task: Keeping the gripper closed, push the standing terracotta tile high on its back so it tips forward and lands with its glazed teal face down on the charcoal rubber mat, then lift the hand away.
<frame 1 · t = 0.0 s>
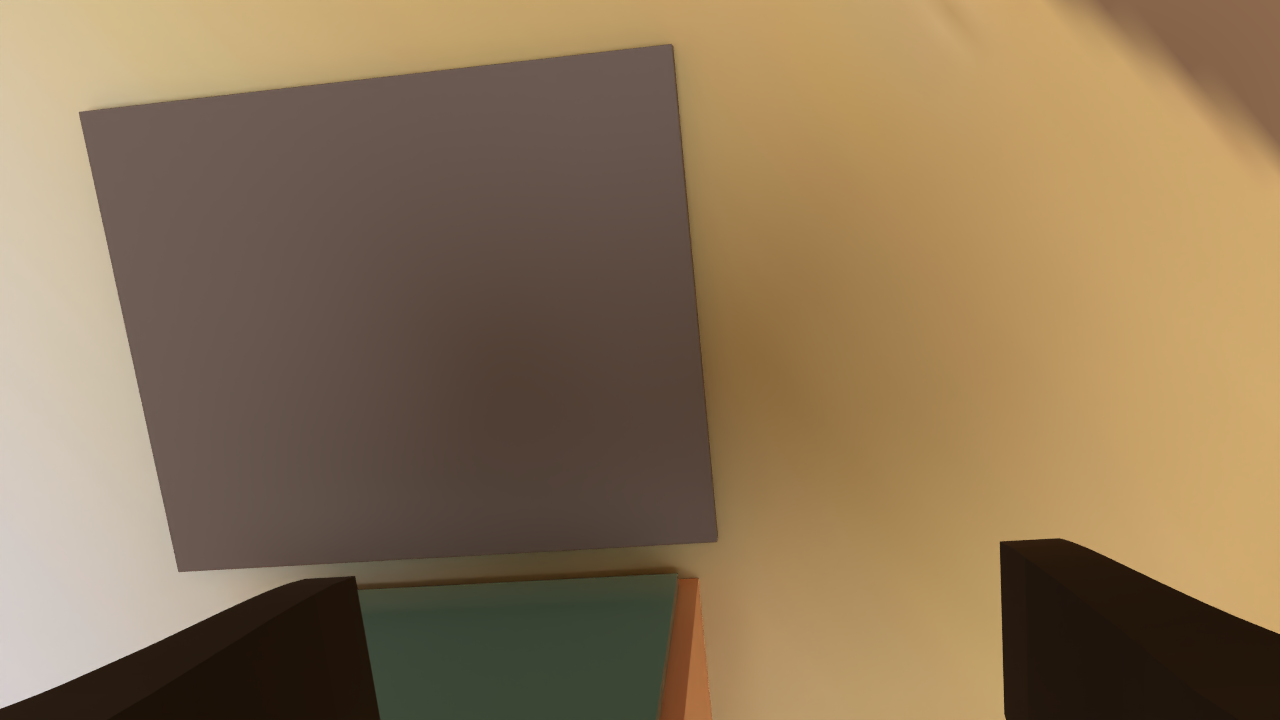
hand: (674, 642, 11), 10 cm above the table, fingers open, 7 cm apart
charcoal mat: (409, 327, 21), on the table
terracotta tile: (507, 669, 23), on the table
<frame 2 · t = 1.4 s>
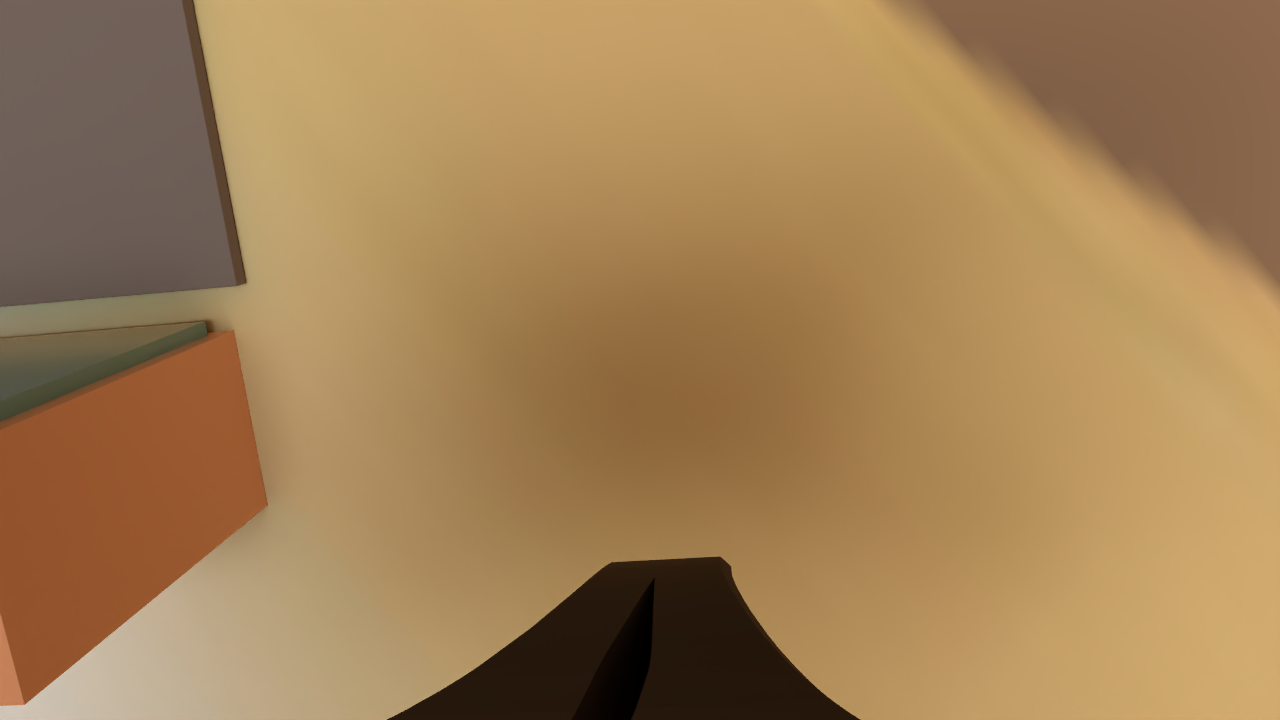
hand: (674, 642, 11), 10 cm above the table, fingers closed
terracotta tile: (63, 432, 23), on the table
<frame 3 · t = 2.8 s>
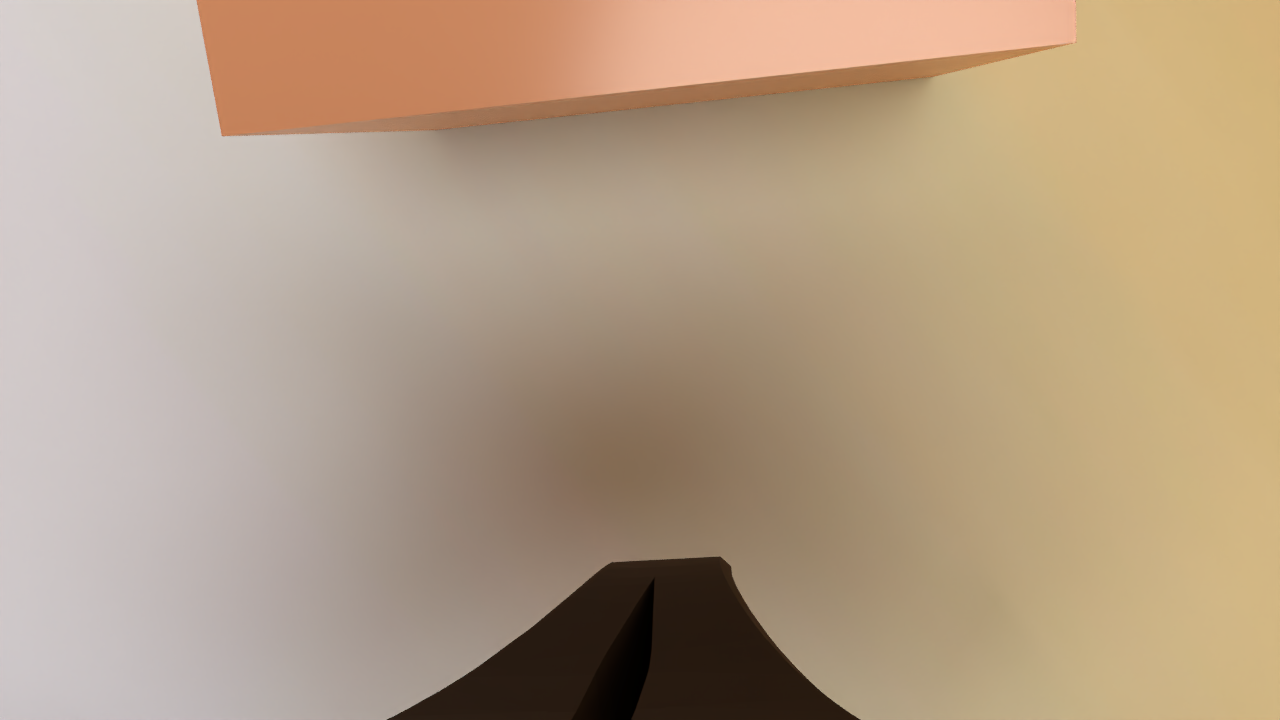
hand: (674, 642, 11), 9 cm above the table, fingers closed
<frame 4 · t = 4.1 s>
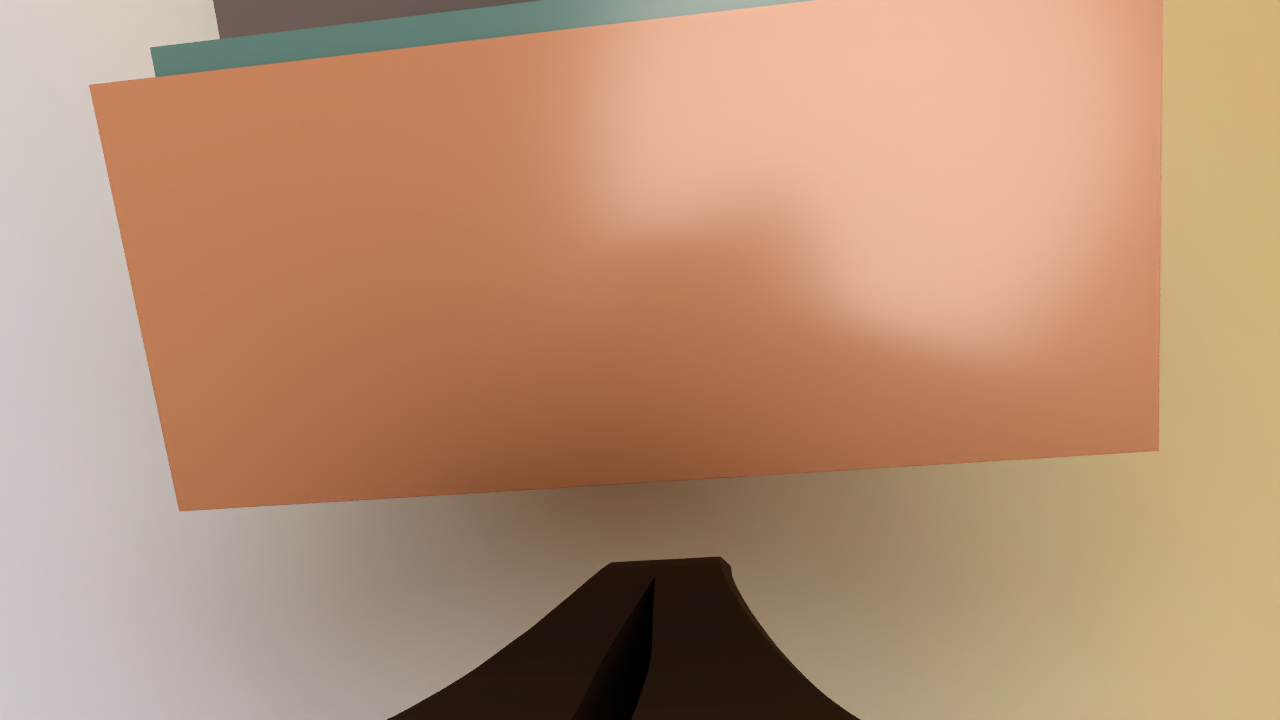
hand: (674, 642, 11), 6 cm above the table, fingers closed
terracotta tile: (677, 197, 17), on the table
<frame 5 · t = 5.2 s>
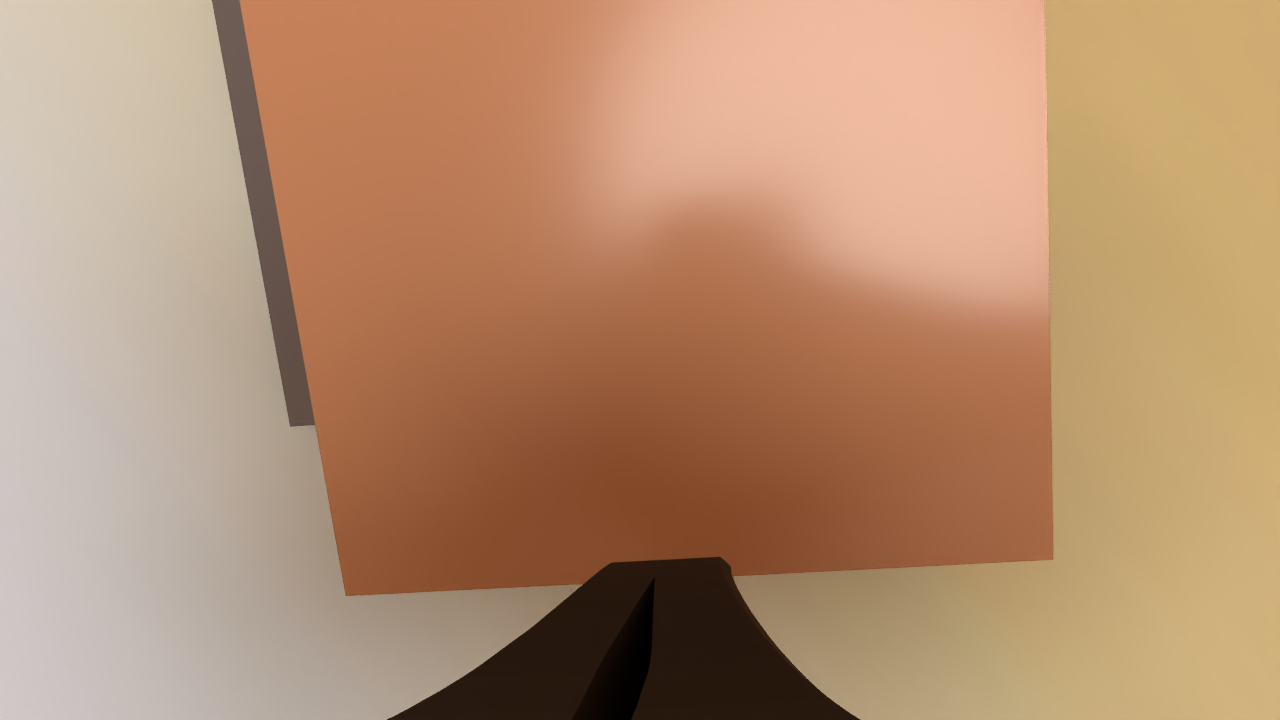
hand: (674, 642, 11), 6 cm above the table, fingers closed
charcoal mat: (603, 93, 16), on the table
terracotta tile: (692, 518, 15), point 3 cm above the table, tilted 90°, touching charcoal mat
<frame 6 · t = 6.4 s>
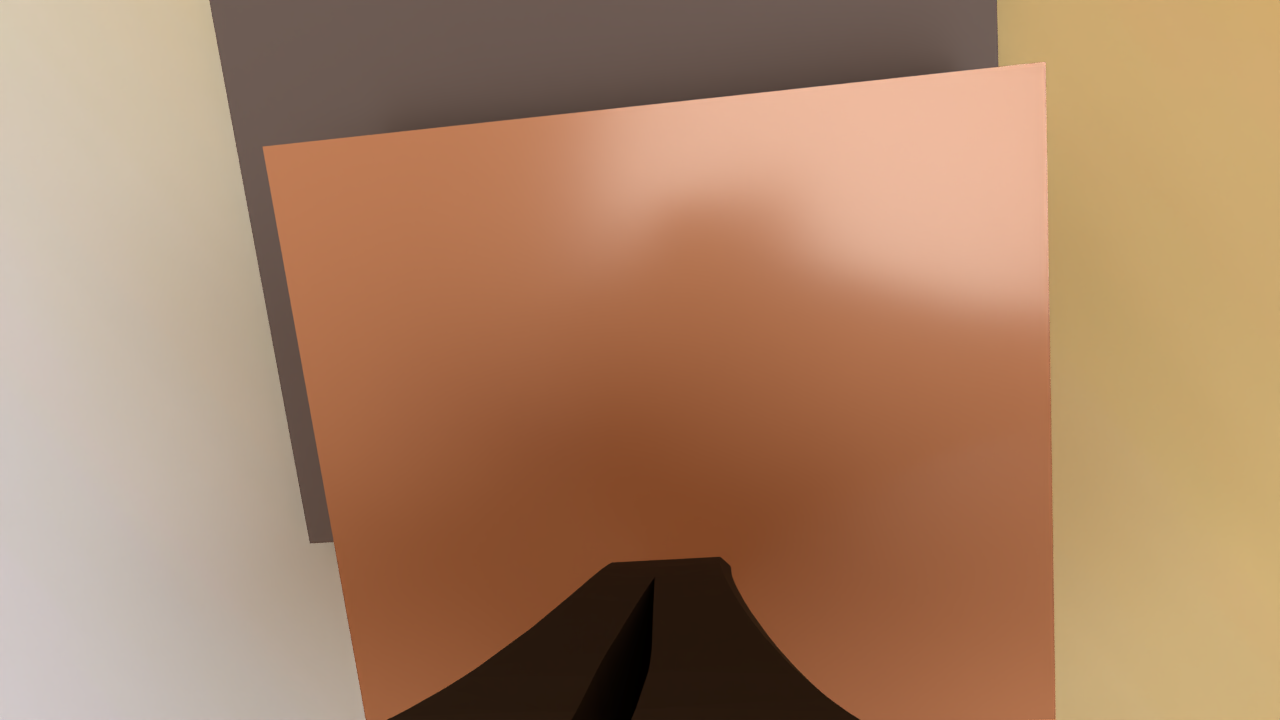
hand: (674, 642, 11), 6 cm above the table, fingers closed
charcoal mat: (616, 228, 17), on the table
terracotta tile: (704, 654, 15), point 3 cm above the table, tilted 90°, touching charcoal mat
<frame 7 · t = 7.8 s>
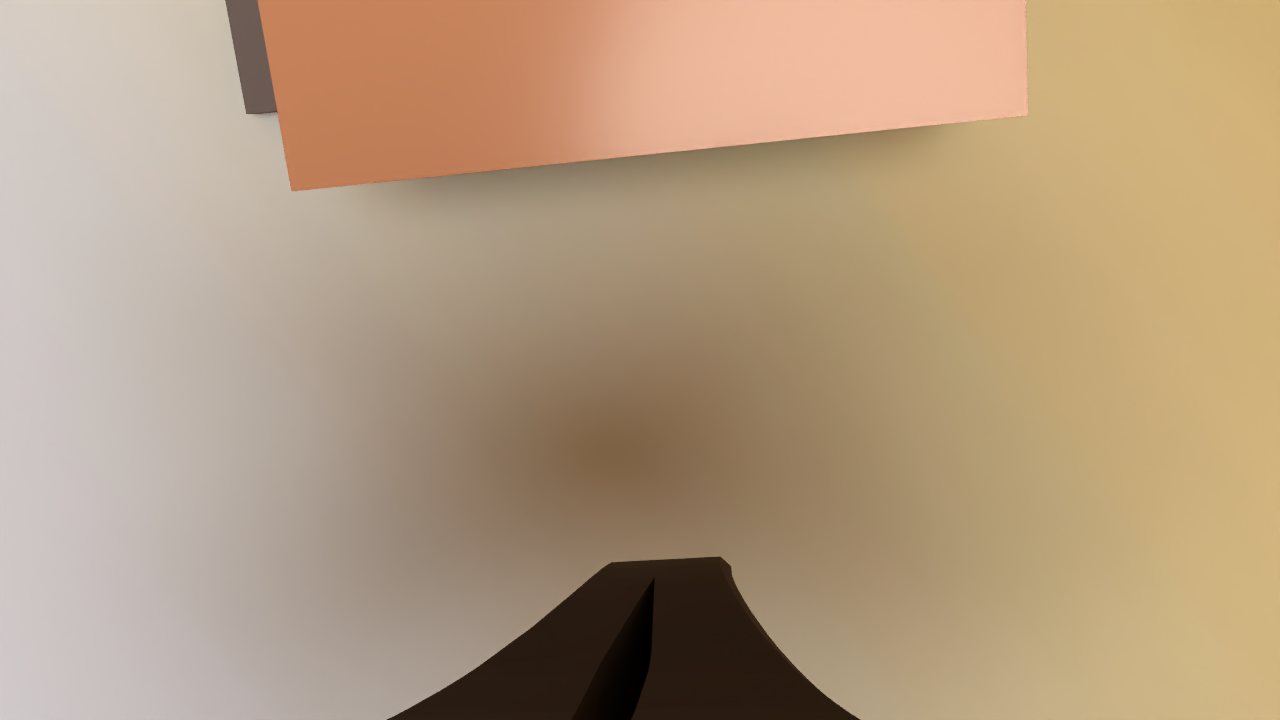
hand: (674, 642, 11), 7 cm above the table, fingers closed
terracotta tile: (657, 149, 14), point 3 cm above the table, tilted 90°, touching charcoal mat
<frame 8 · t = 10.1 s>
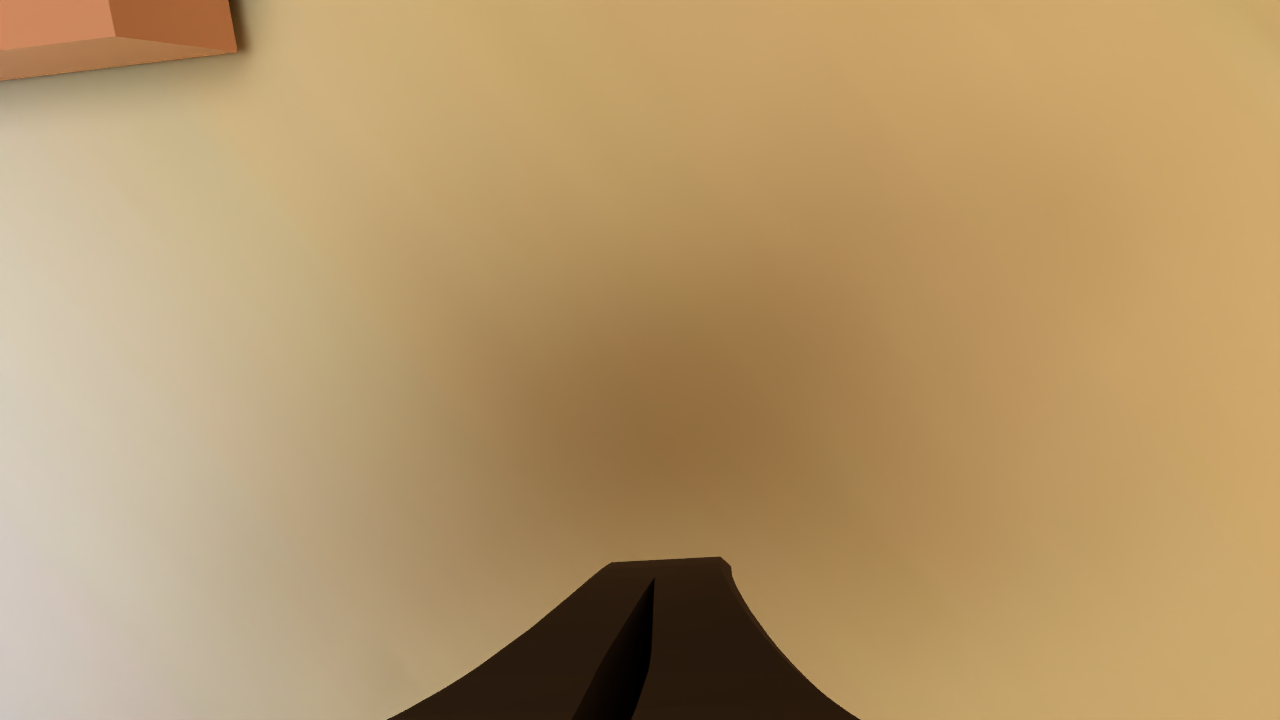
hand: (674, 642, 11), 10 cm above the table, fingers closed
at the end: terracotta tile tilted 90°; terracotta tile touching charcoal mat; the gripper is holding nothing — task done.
